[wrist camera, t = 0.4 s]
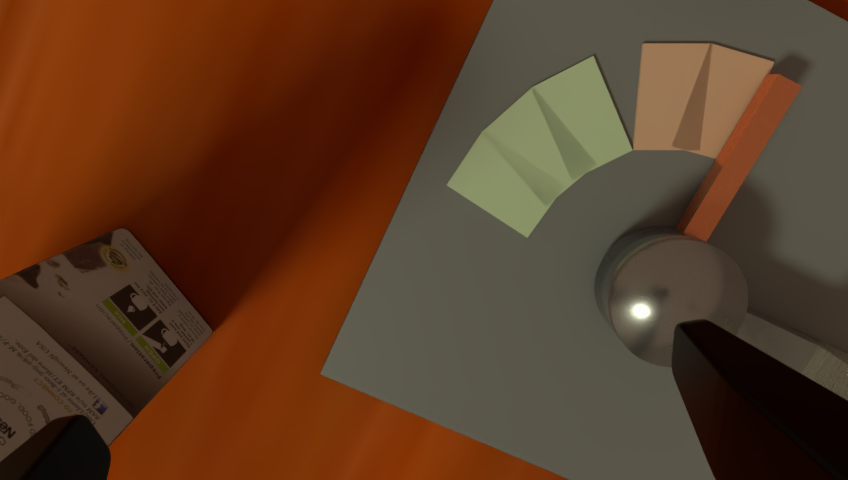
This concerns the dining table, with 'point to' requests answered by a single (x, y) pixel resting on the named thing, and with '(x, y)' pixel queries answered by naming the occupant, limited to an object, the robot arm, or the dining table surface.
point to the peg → (707, 265)
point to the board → (598, 221)
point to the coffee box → (90, 338)
